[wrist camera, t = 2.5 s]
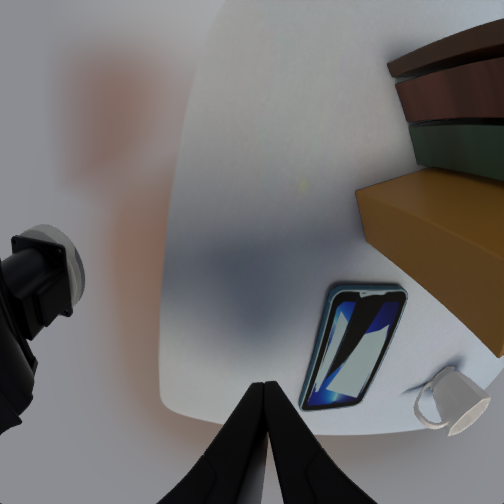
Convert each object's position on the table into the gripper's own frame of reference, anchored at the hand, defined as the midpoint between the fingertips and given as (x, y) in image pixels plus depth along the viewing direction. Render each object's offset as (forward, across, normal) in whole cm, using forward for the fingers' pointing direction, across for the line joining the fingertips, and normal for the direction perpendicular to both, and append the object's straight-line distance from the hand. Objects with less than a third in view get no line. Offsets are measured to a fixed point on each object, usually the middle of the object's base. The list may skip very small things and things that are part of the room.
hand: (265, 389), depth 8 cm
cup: (+12, +20, -22) cm, 32 cm away
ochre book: (+13, +12, +2) cm, 18 cm away
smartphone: (+12, +7, -12) cm, 18 cm away
